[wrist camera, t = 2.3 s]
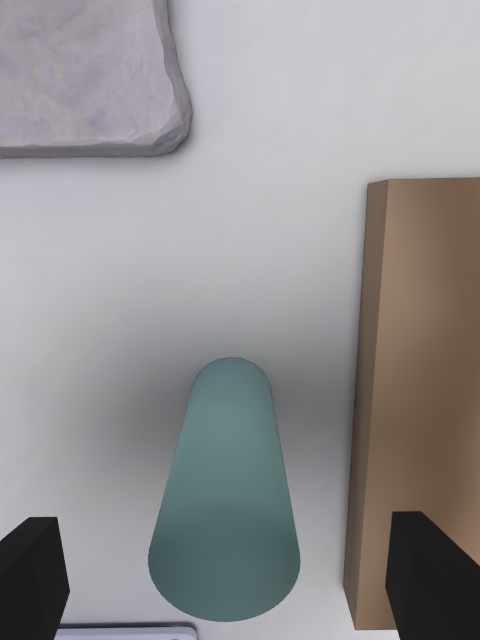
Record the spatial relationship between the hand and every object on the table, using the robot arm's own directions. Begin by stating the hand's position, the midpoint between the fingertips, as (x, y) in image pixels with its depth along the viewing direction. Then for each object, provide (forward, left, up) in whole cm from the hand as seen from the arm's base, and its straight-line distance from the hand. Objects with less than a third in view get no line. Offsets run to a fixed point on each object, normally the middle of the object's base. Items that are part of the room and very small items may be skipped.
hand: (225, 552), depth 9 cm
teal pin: (0, 0, -8) cm, 8 cm away
